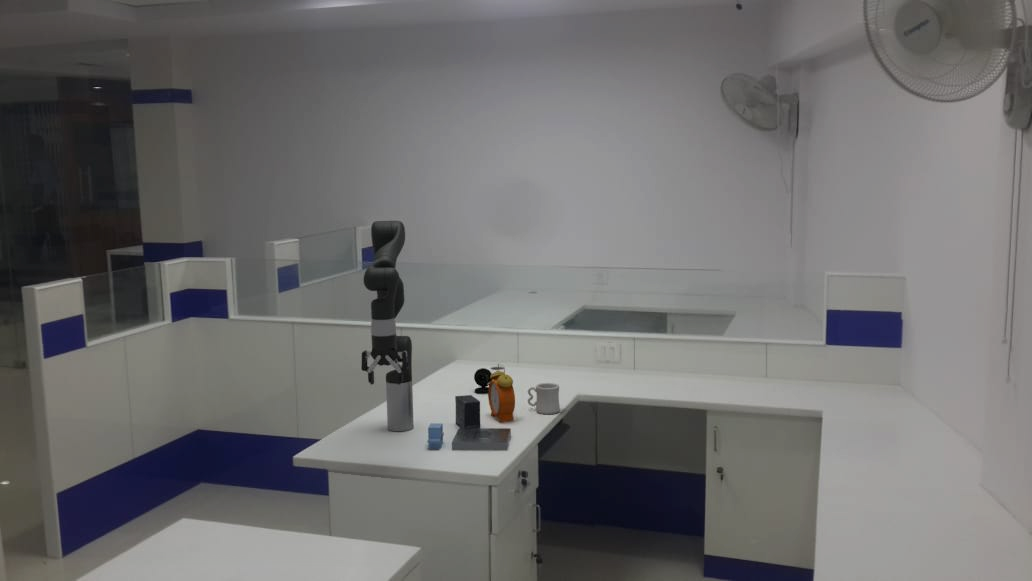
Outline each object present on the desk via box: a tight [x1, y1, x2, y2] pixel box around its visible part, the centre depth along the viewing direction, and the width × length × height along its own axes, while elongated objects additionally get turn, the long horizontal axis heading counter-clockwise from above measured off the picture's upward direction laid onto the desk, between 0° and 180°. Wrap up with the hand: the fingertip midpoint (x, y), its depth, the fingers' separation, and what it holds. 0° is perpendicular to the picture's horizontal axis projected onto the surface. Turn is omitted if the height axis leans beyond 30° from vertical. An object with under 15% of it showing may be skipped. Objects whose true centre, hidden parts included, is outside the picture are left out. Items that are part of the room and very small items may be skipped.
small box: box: [455, 394, 481, 428], centre depth 307 cm, size 11×6×10 cm, turn 22°
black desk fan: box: [473, 367, 493, 395], centre depth 356 cm, size 8×8×10 cm
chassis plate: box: [451, 427, 512, 451], centre depth 289 cm, size 16×18×2 cm
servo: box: [426, 422, 445, 449], centre depth 286 cm, size 9×4×7 cm, turn 176°
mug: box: [527, 382, 561, 415], centre depth 326 cm, size 12×9×10 cm
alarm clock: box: [487, 363, 516, 424], centre depth 316 cm, size 13×6×20 cm, turn 21°
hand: (385, 384), depth 266 cm, fingers open, 8 cm apart
